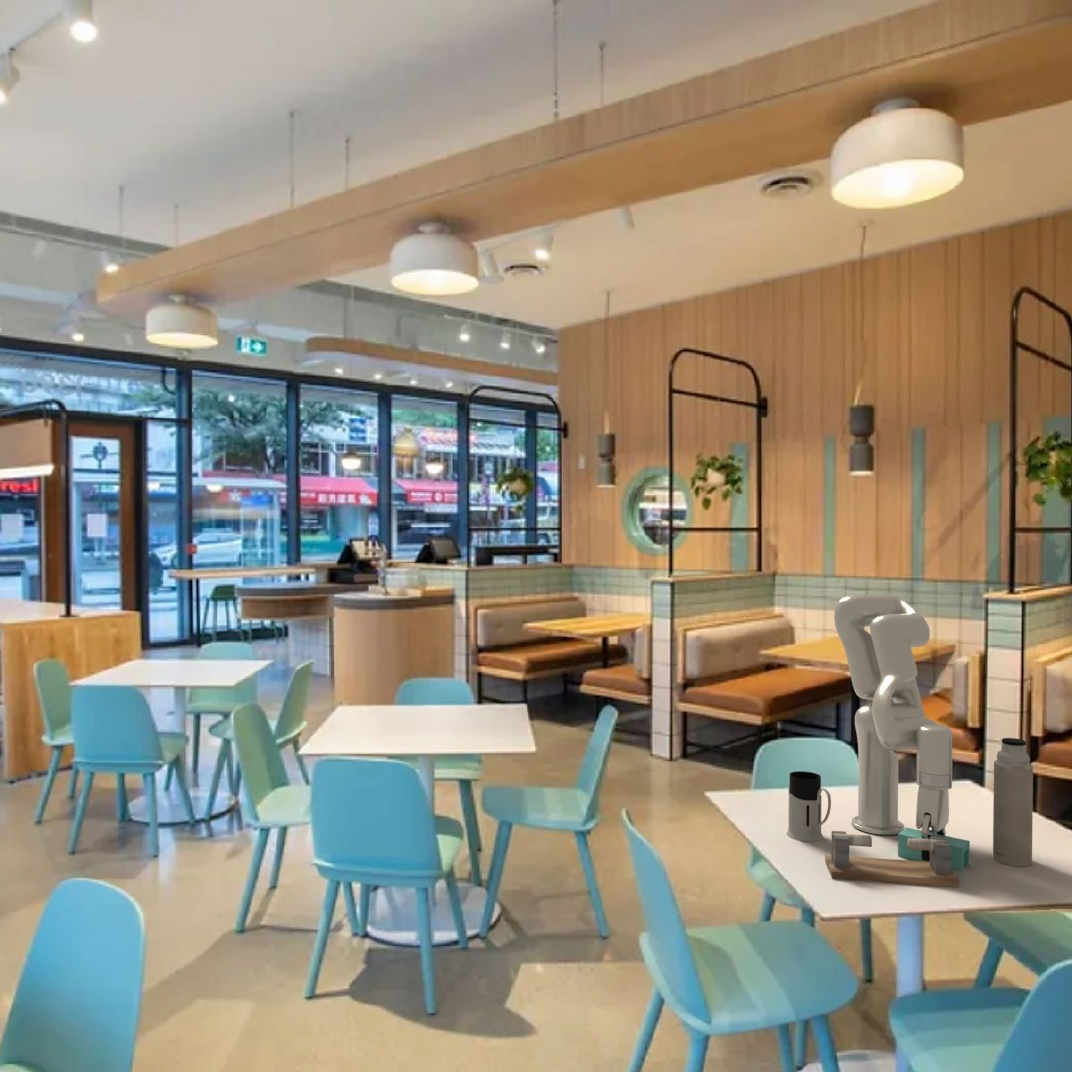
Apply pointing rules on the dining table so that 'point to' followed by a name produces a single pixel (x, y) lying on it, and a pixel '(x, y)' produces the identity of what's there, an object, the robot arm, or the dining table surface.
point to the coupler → (958, 846)
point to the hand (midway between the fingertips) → (933, 856)
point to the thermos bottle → (1013, 804)
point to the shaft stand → (891, 862)
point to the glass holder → (806, 806)
